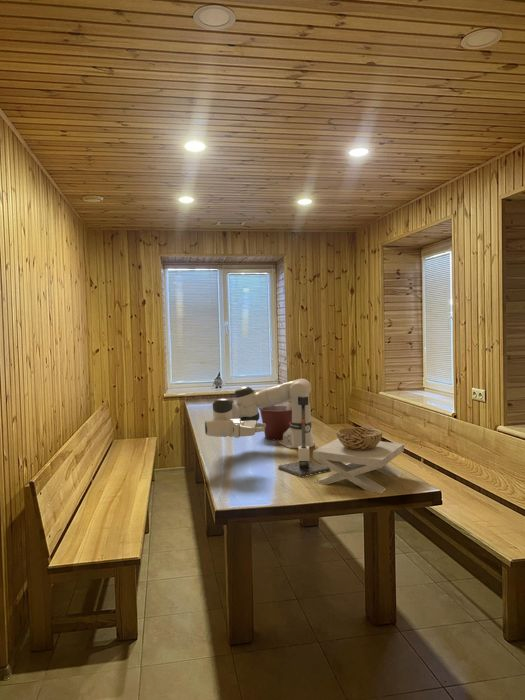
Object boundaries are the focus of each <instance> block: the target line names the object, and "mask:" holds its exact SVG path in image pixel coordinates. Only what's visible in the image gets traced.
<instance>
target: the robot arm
mask: <svg viewBox="0 0 525 700" xmlns="http://www.w3.org/2000/svg"><path fill="white" fill-rule="evenodd" d="M311 391H312V385H311V383H310V381H309V380H308V379H306V378H298V379H295V380H292V381H291V380H290V381H288V382H284V383H281V384H278V385H274V386H270V387H266V388H263V389H260V390H258V391H256V390H255V389H252V387H249V386H240V387H238V388H237V389H236V390H235V391H234V398H235V401H236V402H234V400H233V399H228V398H219V399H216V400H214V401H213V403H212V411H213V412H212V413H213V414H212V415H213V417H212V418H213V419H207V420H205V422H204V431H205V432H204V433H205V435H206V436H208V437H214V438H215V437H216V438H225V437H230V438H231V437H232V438H236V439H238V438H241V437H251V436H252V437H253V436H255V435H256V433H261V432H263V433H264V431H265V427H266V424H263V423H262V422H258V421H259V420H260V413H259V408H265V407H270V406H279V405H282V404H286V403H288V402H290V405H291V406H290V407H291V408H292V422H289V423H290V428H289V429H288V430H287V431H286V432H284V434H283V440H278V444H279V445H280V444H281V445H282V446H285V447H287V448H289V449H298V446H302V423H301V419H302V418H301V405H298V397H299V396H307V397H308V405H305V419H306V423H305V441H306V446H309V448H312V447H314V445H315V441H314V436H313V430H312V421H311V416H312V415H311V414H312V413H311V403H310V402H311V401H310V394H311Z"/></svg>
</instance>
